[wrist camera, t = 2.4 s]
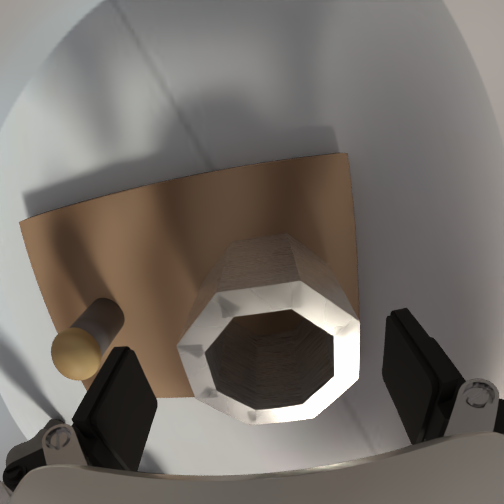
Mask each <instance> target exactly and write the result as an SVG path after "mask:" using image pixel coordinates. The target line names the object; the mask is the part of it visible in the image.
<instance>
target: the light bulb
mask: <svg viewBox="0 0 504 504" xmlns="http://www.w3.org/2000/svg"><path fill="white" fill-rule="evenodd" d="M58 424H64V423H63V422H62V421H60V420H56V419H51V420H49V422H48V423H47V424H46V426H45V427H44V429H41V430H40V431H39V432H38V433H37V435H36V436H35V437H34V438H32V439H31V440H29V441H27V442H24V443H21V444H19V445H17V446H14V447H13V448H12V449H11V450H10V451H9V453H8V455H7V459H6V467H7V466H8V465H9V464H10V463H12V462H14V461H16V460H18V459H20V458H22V457H24V456H27V455H29V454H31V453H33V452H35V451H37V450H39V449H41V448H43V447H42V439H43V436H44V434H45V433H46V431H47V430H49V429H50V428H51V427H53V426H55V425H58Z"/></svg>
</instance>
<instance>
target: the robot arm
mask: <svg viewBox="0 0 504 504" xmlns="http://www.w3.org/2000/svg"><path fill="white" fill-rule="evenodd" d="M382 376H383V380H384V382H385V384H386V387H387V389H388V391H389V393H390V395H391V398H392V400H393V402H394V404H395V407H396V409H397V411H398V413H399V416H400V418H401V420H402V423H403V425H404V427H405V430H406V432H407V434H408V437H409V439H410V442H411V444H412V445H411V446H408V447H405V448H401V449H397V450H394V451H390V452H386V453H382V454H378V455H374V456H370V457H366V458H361V459H357V460H352V461H348V462H343V463H338V464H332V465H327V466H321V467H314V468H308V469H300V470H293V471H284V472H274V473H263V474H248V475H223V476H195V475H169V474H155V473H143V472H137V470H138V467H139V464H140V460H141V457H142V454H143V450H144V447H145V444H146V441H147V438H148V434H149V431H150V428H151V425H152V422H153V419H154V416H155V412H156V409H157V399H156V397H155V395H154V393H153V391H152V388H151V386H150V384H149V382H148V380H147V378H146V376H145V374H144V371H143V369H142V367H141V365H140V362H139V360H138V358H137V356H136V353H135V351H134V350H131V349H130V348H129V347H128V346H120V347H114V348H113V349H112V350H111V352H110V354H109V355H108V357H107V359H106V360H105V362H104V364H103V365H102V367H101V369H100V370H99V372H98V374H97V375H96V377H95V379H94V381H93V382H92V384H91V386H90V388H89V389H88V391H87V393H86V395H85V396H84V398H83V400H82V402H81V403H80V405H79V407H78V409H77V411H76V412H75V414H74V416H73V418H72V421H73V422H74V423H73V425H72V427H71V426H70V425H67V424H58V425H55V426H53V427H51V428H50V429H49V430H47V431H46V433H45V434H44V436H43V439H42V447H43V448H41V449H39V450H37V451H35V452H33V453H31V454H29V455H27V456H24V457H22V458H20V459H18V460H16V461H14V462H12V463H10V464H9V465H8V466H7V467H6V469H5V471H4V473H3V482H1V481H0V504H504V400H503V399H499V392H498V389H497V387H496V386H495V385H494V384H493V383H491V382H490V381H488V380H484V379H471V380H469V381H467V382H466V381H465V380H464V378H463V377H462V375H461V374H460V373H459V371H458V370H457V368H456V367H455V366H454V364H453V363H452V361H451V360H450V359H449V357H448V356H447V355H446V353H445V352H444V351H443V349H442V348H441V347H440V345H439V344H438V343H437V341H436V340H435V339H434V338H432V337H429V336H428V334H427V333H426V332H425V330H424V329H423V328H422V326H421V325H420V324H419V323H418V321H417V320H416V319H415V317H414V316H413V315H412V314H411V312H410V311H409V310H408V309H407V308H403V309H398V310H394V311H392V312H391V314H390V316H387V318H386V332H385V346H384V357H383V368H382Z"/></svg>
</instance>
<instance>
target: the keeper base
mask: <svg viewBox="0 0 504 504" xmlns="http://www.w3.org/2000/svg"><path fill="white" fill-rule="evenodd" d="M19 224H20V228H21V232H22V235H23V239H24V243H25V246H26V249H27V253H28V256H29V259H30V262H31V265H32V268H33V271H34V274H35V277H36V280H37V283H38V286H39V288H40V291H41V294H42V296H43V299H44V302H45V304H46V307H47V309H48V312H49V314H50V316H51V319H52V321H53V323H54V326H55V328H56V330H57V333H58V335H57V336H56V337H55V339H54V341H53V343H52V347H51V356H52V360H53V363H54V365H55V367H56V368H57V370H58V371H59V372H60V373H61V374H62V375H64V376H65V377H67V378H69V379H72V380H81V381H82V383H83V385H84V387H85V388H86V390H87V391H88V389H89V388H90V386H91V384H92V382H93V381H94V379H95V377H96V375H97V374H98V372H99V370H100V369H101V367H102V365H103V364H104V362H105V360H106V359H107V357H108V355H109V354H110V352H111V350H112V349H113V348H114V347H120V346H128V347H129V348H130V349H131V350H134V351H135V353H136V356H137V358H138V360H139V362H140V365H141V367H142V369H143V371H144V374H145V376H146V378H147V380H148V382H149V384H150V386H151V388H152V391H153V393H154V395H155V397H156V398H174V397H195V396H194V393H193V390H192V388H191V385H190V383H189V380H188V377H187V374H186V372H185V369H184V366H183V363H182V361H181V358H180V355H179V352H178V349H177V343H178V341H179V338H180V336H181V333H182V331H183V328H184V326H185V323H186V321H187V318H188V316H189V313H190V311H191V308H192V306H193V304H194V301H195V299H196V296H197V294H198V291H199V289H200V287H201V284H202V282H203V280H204V279H205V278H206V276H207V275H208V273H209V272H210V271H211V269H212V268H213V267H214V265H215V264H216V262H217V261H218V260H219V258H220V257H221V255H222V254H223V253H224V251H225V250H226V249H227V247H228V246H229V244H230V243H231V242H232V241H237V240H243V239H250V238H256V237H263V236H270V235H276V234H283V233H287V234H289V235H290V236H292V237H293V238H294V239H296V240H297V241H298V242H300V243H301V244H303V245H304V246H305V247H307V248H308V249H309V250H311V251H312V252H313V253H315V254H316V255H318V256H319V257H320V258H322V259H323V260H324V261H326V262H327V263H328V264H329V265H330V267H331V269H332V271H333V273H334V275H335V276H336V278H337V280H338V282H339V284H340V286H341V287H342V289H343V291H344V293H345V295H346V297H347V299H348V300H349V302H350V304H351V306H352V308H353V310H354V312H355V314H356V316H357V318H358V320H359V293H358V265H357V247H356V232H355V219H354V207H353V197H352V187H351V178H350V169H349V161H348V154H347V153H333V154H324V155H316V156H308V157H300V158H292V159H285V160H278V161H271V162H264V163H258V164H252V165H245V166H240V167H234V168H228V169H222V170H217V171H211V172H206V173H201V174H196V175H191V176H186V177H181V178H176V179H172V180H167V181H162V182H158V183H154V184H149V185H145V186H141V187H136V188H132V189H128V190H124V191H120V192H116V193H112V194H108V195H105V196H101V197H97V198H93V199H90V200H86V201H82V202H79V203H75V204H72V205H69V206H65V207H62V208H58V209H55V210H52V211H49V212H45V213H42V214H39V215H36V216H33V217H30V218H28V219H25V220H23V221H20V222H19ZM303 318H304V317H303V316H302V315H300V314H298V313H297V312H295V311H294V310H292V309H288V310H281V311H274V312H267V313H259V314H252V315H244V316H236V317H233V319H232V320H233V321H235V322H236V323H238V324H240V325H241V326H243V327H244V328H246V329H248V330H249V331H251V332H253V333H254V334H256V335H266V334H274V333H281V332H288V331H292V330H293V329H294V328H295V327H296V326H297V325H298V324H299V322H300V321H301V320H302V319H303Z"/></svg>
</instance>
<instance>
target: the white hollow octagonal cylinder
mask: <svg viewBox="0 0 504 504" xmlns="http://www.w3.org/2000/svg"><path fill="white" fill-rule="evenodd" d="M288 309H292V310H294V311H295V312H297V313H298V314H300V315H302V316H303V317H304V318H303V319H302V320H301V321H300V322H299V324H298V325H297V326H296V327H295V328H294V329H293V330H292V331H288V332H281V333H274V334H266V335H256V334H254V333H253V332H251V331H249V330H248V329H246V328H244V327H243V326H241V325H240V324H238V323H236V322H235V321H233V320H232V319H233V317H236V316H244V315H252V314H259V313H267V312H274V311H281V310H288ZM177 349H178V352H179V355H180V358H181V361H182V363H183V366H184V369H185V372H186V374H187V377H188V380H189V383H190V385H191V388H192V390H193V393H194V396H195V398H196V399H198V400H200V401H201V402H203V403H205V404H207V405H209V406H211V407H213V408H215V409H217V410H219V411H221V412H223V413H225V414H227V415H229V416H232V417H234V418H236V419H238V420H240V421H242V422H244V423H247V424H249V425H258V424H269V423H278V422H287V421H294V420H302V419H309V418H314V417H315V416H316V415H317V414H318V413H320V412H321V411H322V410H323V409H325V408H326V407H327V406H328V405H329V404H331V403H332V402H333V401H334V400H335V399H336V398H338V397H339V396H340V395H341V394H342V393H343V392H344V391H346V390H347V389H348V388H349V387H350V386H351V385H352V384H353V383H354V382H355V381H357V380H358V379H359V352H360V321H359V320H358V318H357V316H356V314H355V312H354V310H353V308H352V306H351V304H350V302H349V300H348V299H347V297H346V295H345V293H344V291H343V289H342V287H341V286H340V284H339V282H338V280H337V278H336V276H335V275H334V273H333V271H332V269H331V267H330V265H329V264H328V263H327V262H326V261H324V260H323V259H322V258H320V257H319V256H318V255H316V254H315V253H313V252H312V251H311V250H309V249H308V248H307V247H305V246H304V245H303V244H301V243H300V242H298V241H297V240H296V239H294V238H293V237H292V236H290V235H289V234H287V233H283V234H276V235H270V236H263V237H256V238H250V239H243V240H237V241H232V242H231V243H230V244H229V246H228V247H227V249H226V250H225V251H224V253H223V254H222V255H221V257H220V258H219V260H218V261H217V262H216V264H215V265H214V267H213V268H212V269H211V271H210V272H209V273H208V275H207V276H206V278H205V279H204V280H203V282H202V284H201V287H200V289H199V291H198V294H197V296H196V299H195V301H194V304H193V306H192V308H191V311H190V313H189V316H188V318H187V321H186V323H185V326H184V328H183V331H182V333H181V336H180V338H179V341H178V343H177Z"/></svg>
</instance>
